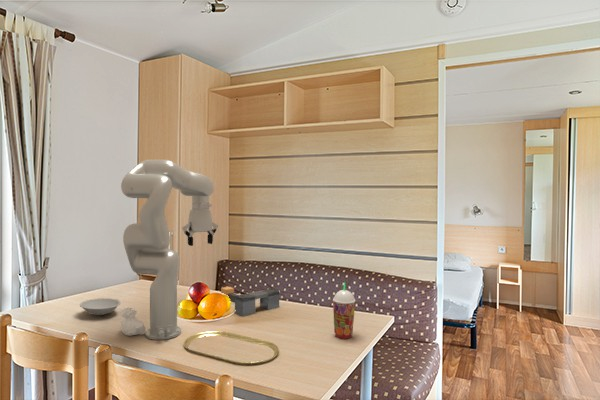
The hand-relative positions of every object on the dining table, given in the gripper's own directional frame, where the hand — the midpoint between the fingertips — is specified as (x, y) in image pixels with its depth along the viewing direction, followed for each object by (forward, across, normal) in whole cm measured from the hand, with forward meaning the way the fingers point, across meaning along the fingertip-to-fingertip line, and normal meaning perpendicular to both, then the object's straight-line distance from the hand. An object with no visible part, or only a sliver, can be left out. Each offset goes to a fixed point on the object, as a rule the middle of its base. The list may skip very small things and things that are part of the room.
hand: (200, 244), depth 185 cm
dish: (+28, +38, -16) cm, 50 cm away
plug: (+28, -17, +4) cm, 33 cm away
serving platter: (+29, +16, +49) cm, 59 cm away
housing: (+28, -17, +21) cm, 39 cm away
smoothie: (+28, -22, +67) cm, 76 cm away
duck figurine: (+29, +36, +14) cm, 48 cm away
